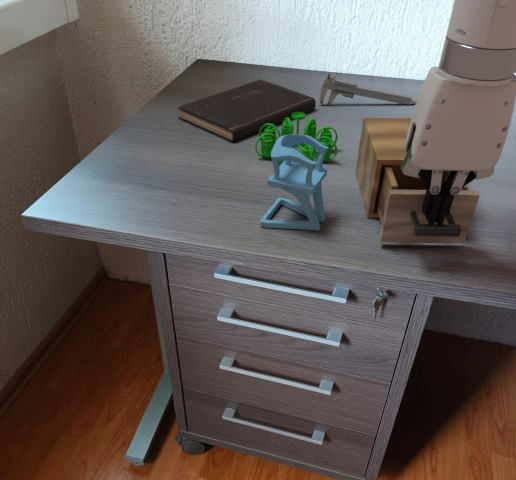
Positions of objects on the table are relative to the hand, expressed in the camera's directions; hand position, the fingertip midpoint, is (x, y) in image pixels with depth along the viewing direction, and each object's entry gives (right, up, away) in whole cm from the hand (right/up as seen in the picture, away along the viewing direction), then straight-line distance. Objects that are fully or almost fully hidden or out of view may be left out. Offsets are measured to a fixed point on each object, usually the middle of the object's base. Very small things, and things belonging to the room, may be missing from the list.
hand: (432, 218), depth 66 cm
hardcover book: (-24, +30, +40) cm, 55 cm away
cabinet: (0, +8, +17) cm, 18 cm away
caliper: (+1, +34, +44) cm, 56 cm away
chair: (-17, +2, +11) cm, 20 cm away
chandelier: (-15, +18, +27) cm, 36 cm away
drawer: (0, +1, +8) cm, 8 cm away
